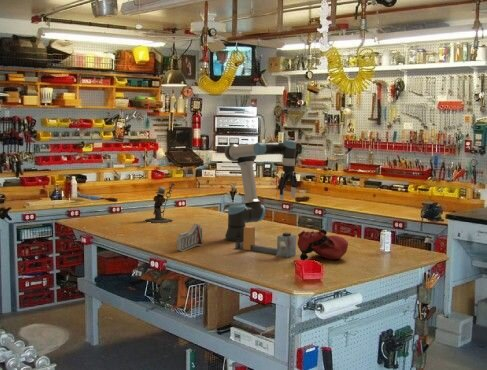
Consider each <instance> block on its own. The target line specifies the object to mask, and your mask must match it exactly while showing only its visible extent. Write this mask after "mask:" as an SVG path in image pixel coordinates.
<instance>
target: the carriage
mask: <svg viewBox="0 0 487 370" xmlns="http://www.w3.org/2000/svg"><path fill="white" fill-rule="evenodd" d="M243 243H244V244H243V249H242V250H245V251H251V245H256V226H251V225H245V227H244V241H243Z"/></svg>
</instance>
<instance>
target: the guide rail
mask: <svg viewBox="0 0 487 370" xmlns="http://www.w3.org/2000/svg"><path fill="white" fill-rule="evenodd" d="M243 244H244V241H236V242H235V245H234V247H235V249H237V250H244V249H243ZM250 251H251V252H259V253H264V254H270V255H276V256H277V247H270V246H269V247H268V246H263V245H256V244H255V245H251V250H250Z"/></svg>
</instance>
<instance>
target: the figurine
mask: <svg viewBox="0 0 487 370" xmlns="http://www.w3.org/2000/svg"><path fill="white" fill-rule="evenodd" d="M175 186H176V183H173V182H171V184H170V187H169V190H168V191H167V192H166V187H164V186H159V187H158V189H157V190H158V191H155V193H154V194H157V195H155V196H154V197H153V201H154V206H153V210H154V211H153V212H152V214H153V215H154V217H152V218H151V217H150V218H146V219H144V220H145V221H146V222H145V223H147V222H151V223H150V224H157V223H160V224H169V223H168V222H170V223H172V221H173V222H174V220H173V219H171V218H168V217H164V214H165V211H166V210H165V209H166V205H167V202H168V199H170V198H171V196H172V194H171V193H172V192H173V188H174V187H175ZM167 194H169V196H168V195H167ZM163 205H164V208H163V210H162V208H161V207H163Z"/></svg>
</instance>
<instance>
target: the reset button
mask: <svg viewBox="0 0 487 370" xmlns="http://www.w3.org/2000/svg"><path fill="white" fill-rule="evenodd" d="M291 234H292V233H291V232H283V233H282V235H283V236H286V237H288V236H291Z"/></svg>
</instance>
